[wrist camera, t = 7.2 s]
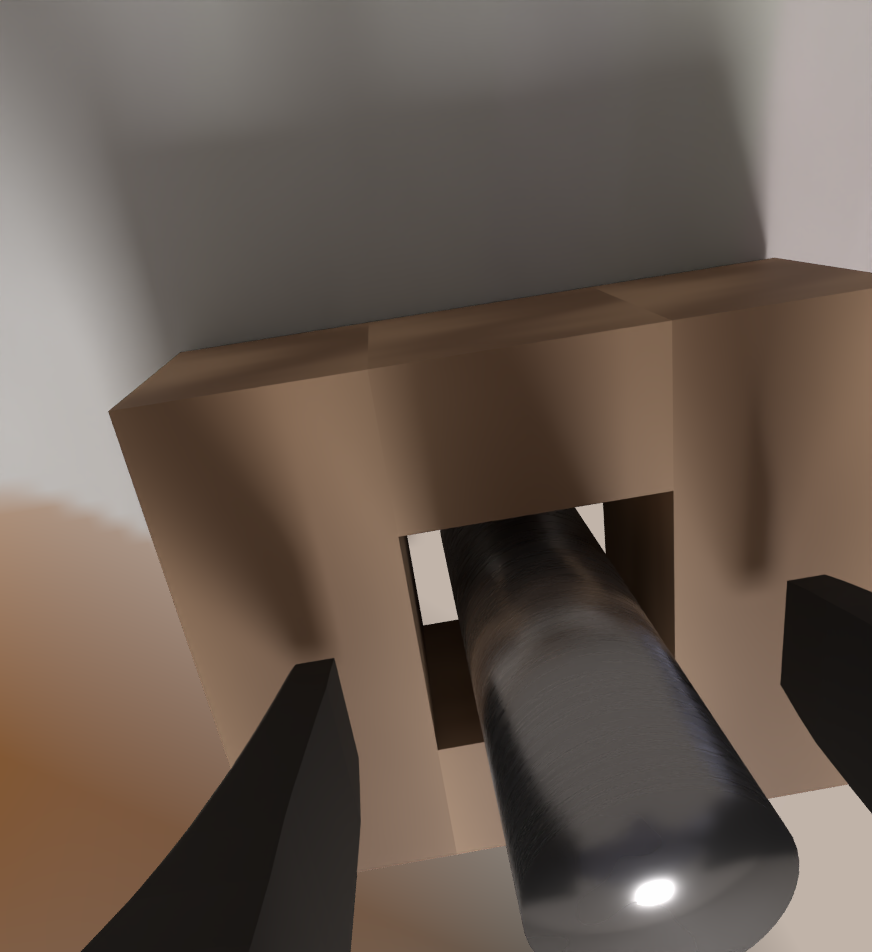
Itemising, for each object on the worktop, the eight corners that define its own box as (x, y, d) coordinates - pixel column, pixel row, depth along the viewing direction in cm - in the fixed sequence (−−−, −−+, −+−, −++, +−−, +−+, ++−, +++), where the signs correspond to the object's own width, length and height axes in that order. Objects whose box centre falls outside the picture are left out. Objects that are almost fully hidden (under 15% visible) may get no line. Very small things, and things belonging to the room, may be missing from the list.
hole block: (774, 257, 14) (921, 280, 10) (755, 660, 18) (856, 782, 14) (180, 352, 14) (108, 411, 10) (292, 740, 17) (271, 887, 14)
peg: (567, 453, 15) (811, 768, 7) (573, 571, 16) (789, 963, 8) (432, 473, 15) (510, 819, 7) (448, 590, 16) (531, 1009, 8)
